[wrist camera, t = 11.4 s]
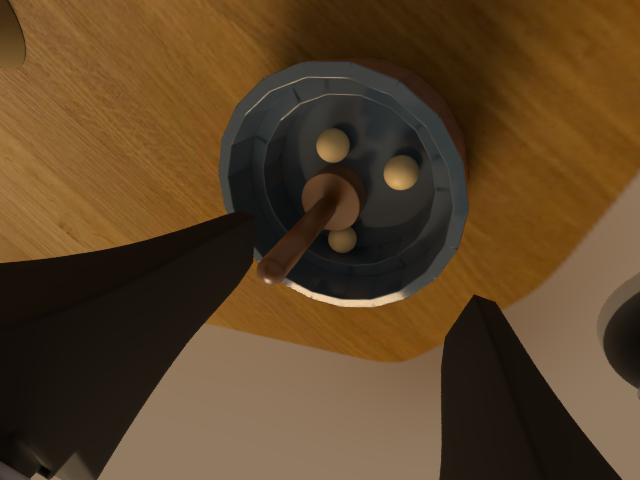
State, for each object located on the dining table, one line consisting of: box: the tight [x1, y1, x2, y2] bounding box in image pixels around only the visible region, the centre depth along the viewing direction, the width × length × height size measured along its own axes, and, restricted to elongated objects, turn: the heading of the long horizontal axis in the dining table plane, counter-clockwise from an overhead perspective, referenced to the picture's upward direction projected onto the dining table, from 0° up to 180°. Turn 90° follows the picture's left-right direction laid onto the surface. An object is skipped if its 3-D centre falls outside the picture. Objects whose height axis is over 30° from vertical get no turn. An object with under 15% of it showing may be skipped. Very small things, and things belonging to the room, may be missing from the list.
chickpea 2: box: [328, 227, 357, 253], centre depth 20 cm, size 2×2×2 cm
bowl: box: [219, 58, 469, 307], centre depth 17 cm, size 12×12×5 cm
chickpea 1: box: [316, 128, 350, 163], centre depth 17 cm, size 2×2×2 cm
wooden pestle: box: [257, 165, 367, 285], centre depth 16 cm, size 4×4×9 cm
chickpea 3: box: [384, 155, 419, 190], centre depth 16 cm, size 2×2×2 cm
